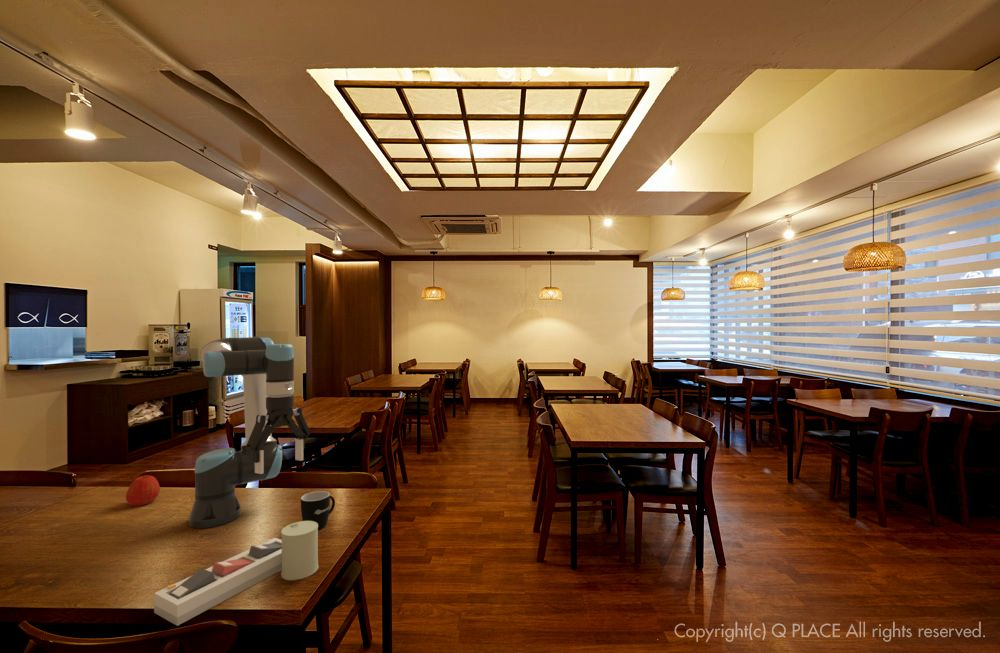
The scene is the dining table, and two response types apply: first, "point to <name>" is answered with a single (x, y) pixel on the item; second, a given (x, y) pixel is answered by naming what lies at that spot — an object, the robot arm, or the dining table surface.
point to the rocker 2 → (264, 549)
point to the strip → (217, 587)
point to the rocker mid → (229, 566)
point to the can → (299, 550)
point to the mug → (316, 507)
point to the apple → (142, 490)
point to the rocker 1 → (193, 583)
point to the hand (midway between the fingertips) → (280, 466)
